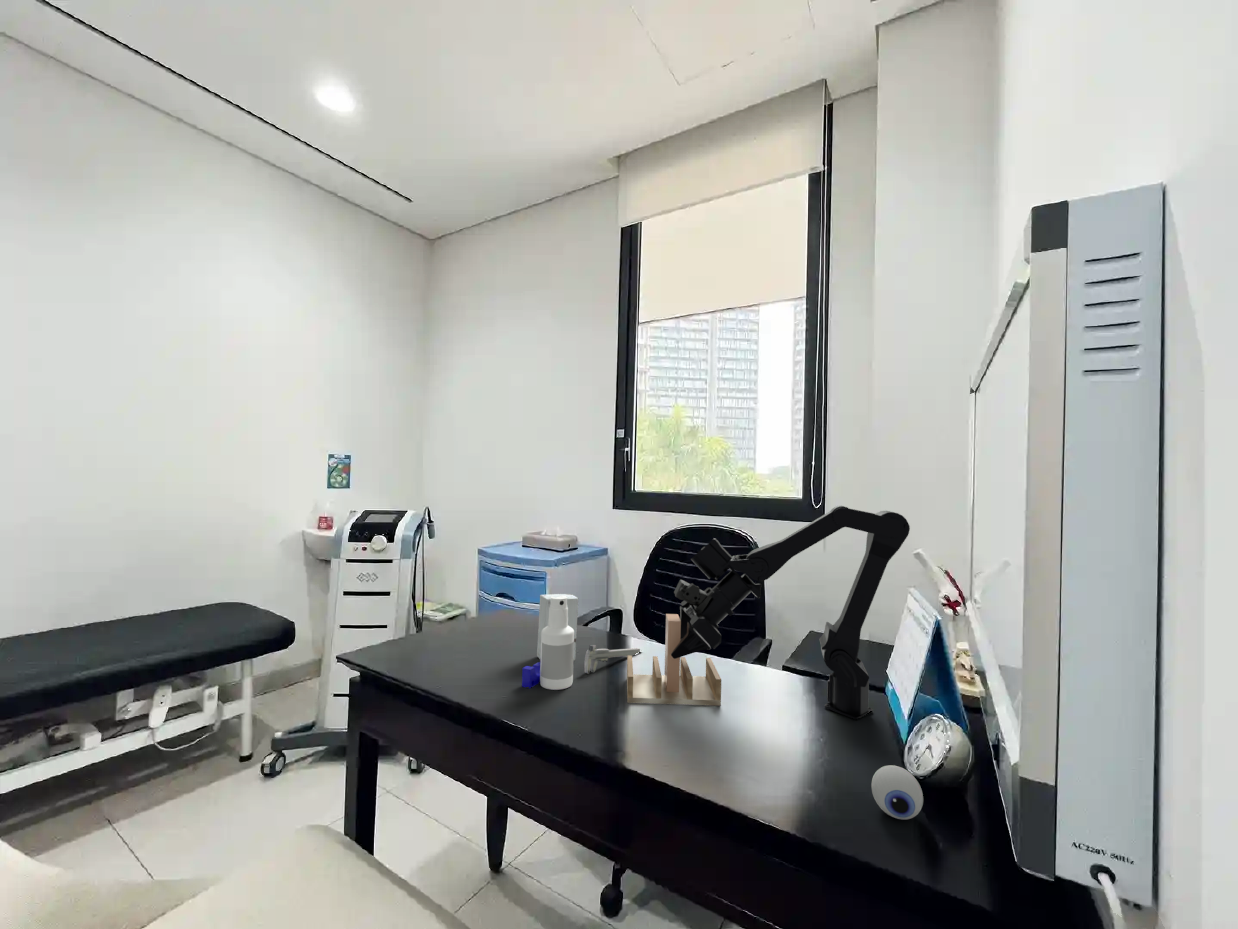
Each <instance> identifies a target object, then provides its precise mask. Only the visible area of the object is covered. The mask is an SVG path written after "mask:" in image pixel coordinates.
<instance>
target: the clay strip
mask: <svg viewBox="0 0 1238 929" xmlns="http://www.w3.org/2000/svg"><path fill="white" fill-rule="evenodd" d="M680 637H681V620H680V616H679V614H677V613H665V638H664V639H665V641H664V642H665V643H664V644H665V645H664V646H665V647H664V675H665V677H664V682H665V686H666V691H667V692H679V678H680V662H681V657H679V658H676V659H674V658H673V657H672V656H671V653H672V652H673V651H674V649H675V648H676V646H677V645H678V644H679V643H680V641H681V639H680Z"/></svg>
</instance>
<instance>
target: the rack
mask: <svg viewBox="0 0 1238 929" xmlns="http://www.w3.org/2000/svg"><path fill="white" fill-rule="evenodd" d="M626 658H627V659H626V660H627V663H626V690H627V692H626V697H627V698H626V700H627V704H652V705H654V704H655V705H683V706H684V705H685V706H686V705H687V706H688V705H690V706H713V707H714V706H720V707H721V706H722V703H721V702H722V678H721V676H720V674H719V672H718V670H717V668H716V665H715V664H714V662H713V660H712V658H711V657H706V658H705V676H702V675H697V676H696V675H695V676H694V675H692V673H691V672H692V671H691V670H690V667H689V664H688V662H687V658H686V657H685V656H682V657H680V678H679V692H667V691H666V686H665V682H664V677H665V674H662V673H661V666H660V663H659V662H660V661H659V657H658V656H656V655H655V656H654V655H653V656H652V673H651V674H637V673H636V674H634V667H633V666H634V664H633V656H628V655H627V656H626Z"/></svg>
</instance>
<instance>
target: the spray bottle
mask: <svg viewBox="0 0 1238 929" xmlns="http://www.w3.org/2000/svg"><path fill="white" fill-rule="evenodd" d="M573 656H574V630H573V629H572V628H571V627H570V626H568V607H567V597H566V596H560V597H551V605H550V608H549V622H548V626H547V627H545V628H543V630H542V632H541V663H540V683H539V684H540V686H541V687H542V688H544V689H547V690H552V691H553V690H554V691H558V690H564V689H567V688H570V687H572V685H573V681H574V661H573Z"/></svg>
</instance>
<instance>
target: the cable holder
mask: <svg viewBox="0 0 1238 929" xmlns="http://www.w3.org/2000/svg"><path fill="white" fill-rule="evenodd" d="M540 663H541V658H540V659H539V661H538V662H536V663H534V664H533V665H532V666H530V665H525V666H524V667H522V668H521V670H522V672H521V687H523V688H526V687H529V688H528V689H532V688H533V687H535V686H536V685H539V684H540V683H539V682H540ZM531 687H532V688H531Z"/></svg>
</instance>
